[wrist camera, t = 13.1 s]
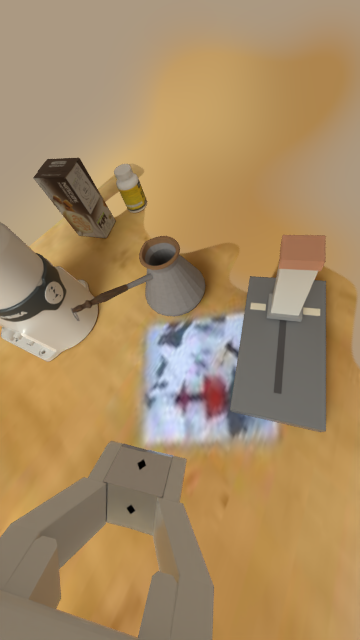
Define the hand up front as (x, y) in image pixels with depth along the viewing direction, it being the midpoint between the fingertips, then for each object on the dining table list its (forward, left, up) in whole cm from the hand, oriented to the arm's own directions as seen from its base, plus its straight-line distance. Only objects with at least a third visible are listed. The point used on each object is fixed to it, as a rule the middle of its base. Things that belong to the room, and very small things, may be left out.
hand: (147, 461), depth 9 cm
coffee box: (-39, +42, -30) cm, 65 cm away
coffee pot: (-15, +20, -30) cm, 39 cm away
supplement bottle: (-30, +50, -30) cm, 66 cm away
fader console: (+7, +17, -29) cm, 35 cm away
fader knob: (+7, +22, -27) cm, 35 cm away
